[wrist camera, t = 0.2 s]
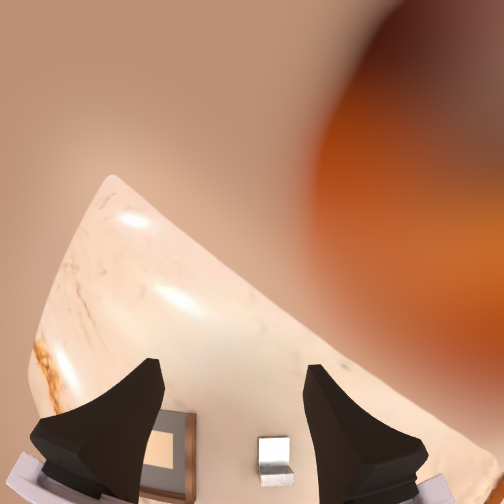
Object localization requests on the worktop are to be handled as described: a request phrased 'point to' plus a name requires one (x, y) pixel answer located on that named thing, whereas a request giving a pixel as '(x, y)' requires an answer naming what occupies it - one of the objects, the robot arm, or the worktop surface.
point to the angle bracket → (274, 462)
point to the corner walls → (185, 501)
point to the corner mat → (166, 454)
